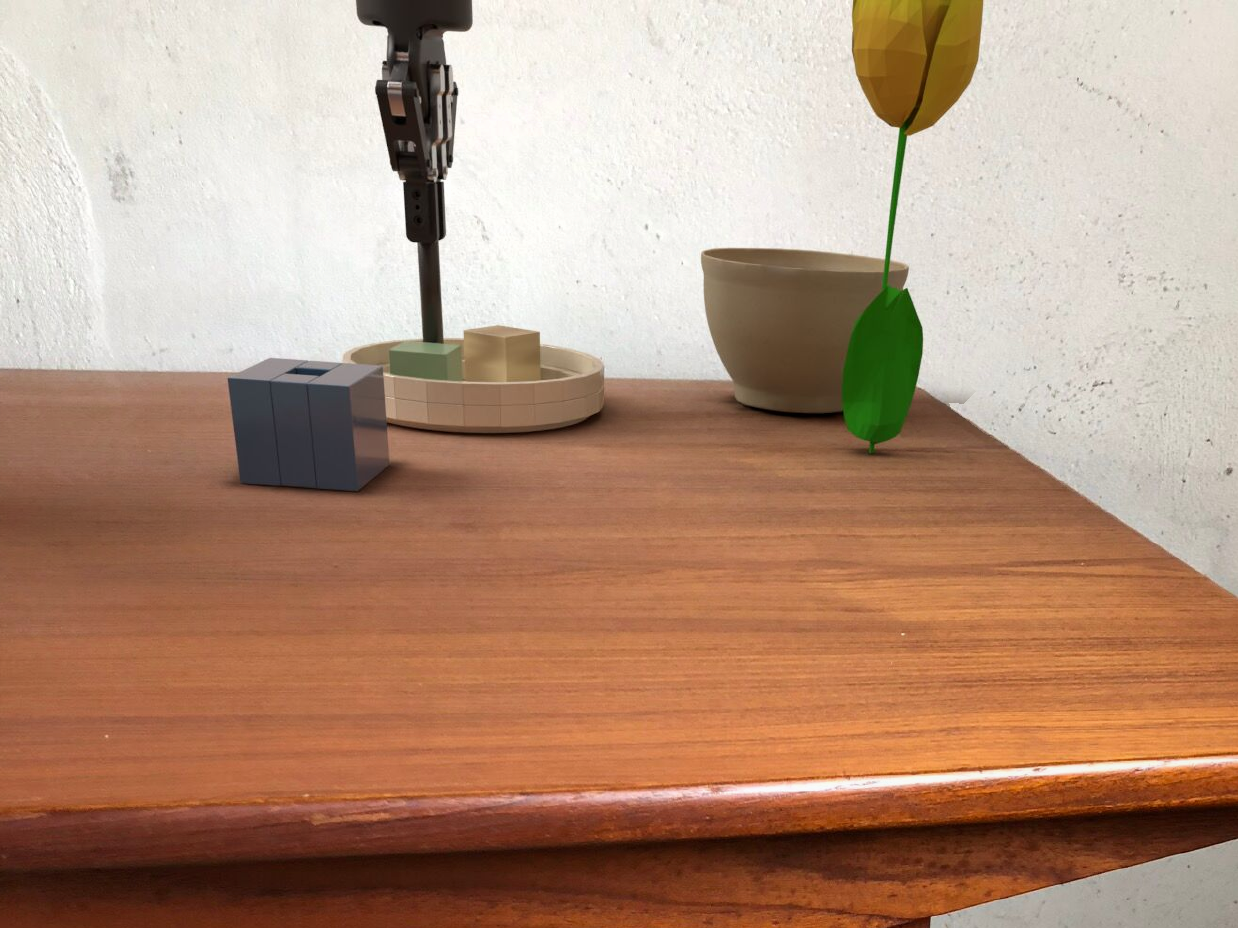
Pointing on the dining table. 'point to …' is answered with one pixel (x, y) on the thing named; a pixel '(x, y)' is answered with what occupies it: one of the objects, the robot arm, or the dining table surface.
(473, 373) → the birch block
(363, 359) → the cream bowl
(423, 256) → the stirring stick
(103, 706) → the dining table surface
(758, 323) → the planter bowl
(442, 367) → the sage block
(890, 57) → the flower
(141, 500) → the dining table surface
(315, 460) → the stick holder
